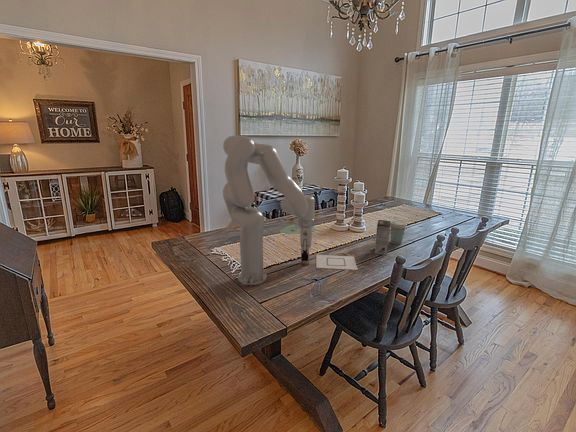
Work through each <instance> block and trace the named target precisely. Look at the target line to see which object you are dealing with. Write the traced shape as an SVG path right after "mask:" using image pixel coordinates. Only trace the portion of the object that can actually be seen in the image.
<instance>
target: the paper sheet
mask: <svg viewBox="0 0 576 432" xmlns="http://www.w3.org/2000/svg"><path fill="white" fill-rule="evenodd" d="M315 258H316V265H315V266H316V267H315V268H316V269H325V270H326V269H327V270H328V269H329V270H344V271H345V270H347V271H358V270H359V269H358V266H357V263H356V259H355V256H351V255H350V256H349V255H348V256H347V255H326V254H316V257H315Z"/></svg>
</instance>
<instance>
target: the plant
mask: <svg viewBox="0 0 576 432" xmlns="http://www.w3.org/2000/svg"><path fill="white" fill-rule="evenodd" d="M296 221H297V222H296V223H293V224H289V225H287V226H285V227H284V228H282V229H281V230H279V231H278V232H279V233H281V234H288V235H296V234H299V235H300V226H298V219H297V220H296ZM316 230H317V229H316V226H315V225H314V226H313V227H312V233H314V232H315V231H316Z"/></svg>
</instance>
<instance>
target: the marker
mask: <svg viewBox="0 0 576 432" xmlns="http://www.w3.org/2000/svg"><path fill="white" fill-rule="evenodd" d="M303 246H304V245H303ZM303 249H304V248H303ZM306 249H307V248H306ZM310 250H311V248H310V247H308V261H302V247H301V246H300V265H302V266H308V265H310Z"/></svg>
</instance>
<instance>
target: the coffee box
mask: <svg viewBox="0 0 576 432" xmlns="http://www.w3.org/2000/svg"><path fill="white" fill-rule="evenodd" d="M391 222H392V221H391V220H385V219H378V221H377V226H376V234H375V245H374V254H376V255H377V254H378V255H383V256H388V250H389V242H390V235H391V226H390V224H391Z"/></svg>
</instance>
